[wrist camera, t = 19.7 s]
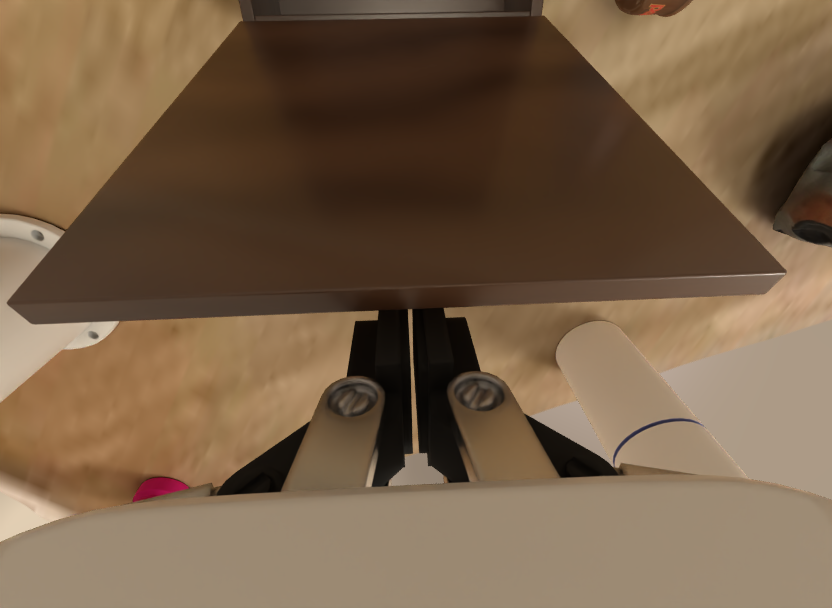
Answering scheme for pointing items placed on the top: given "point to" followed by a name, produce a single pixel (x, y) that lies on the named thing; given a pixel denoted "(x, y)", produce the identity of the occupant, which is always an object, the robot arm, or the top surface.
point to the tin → (652, 6)
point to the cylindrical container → (636, 405)
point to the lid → (393, 185)
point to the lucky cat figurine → (810, 203)
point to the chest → (384, 9)
